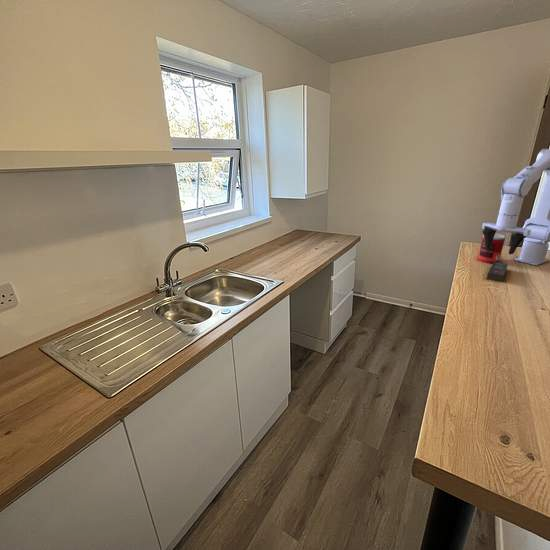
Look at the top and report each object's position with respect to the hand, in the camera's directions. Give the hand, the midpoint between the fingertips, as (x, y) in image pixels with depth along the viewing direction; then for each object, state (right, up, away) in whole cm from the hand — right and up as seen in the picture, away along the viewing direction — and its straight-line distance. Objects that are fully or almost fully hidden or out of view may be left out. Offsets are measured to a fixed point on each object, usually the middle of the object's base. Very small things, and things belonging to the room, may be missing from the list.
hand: (499, 250), depth 110 cm
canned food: (+9, -3, +19) cm, 21 cm away
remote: (+3, -9, +5) cm, 10 cm away
